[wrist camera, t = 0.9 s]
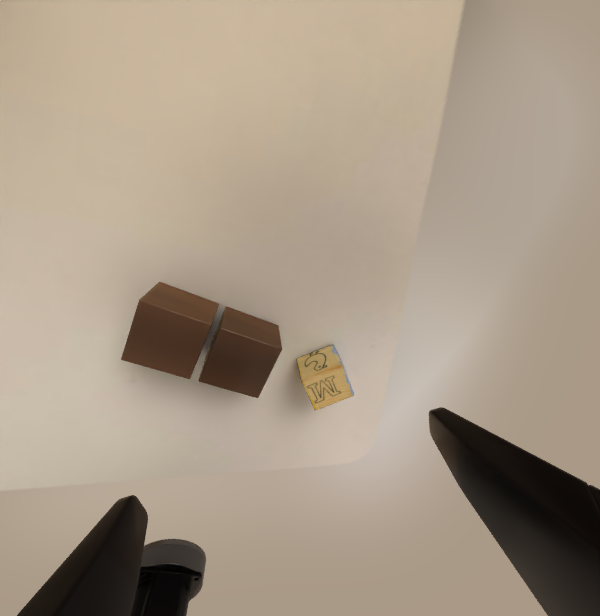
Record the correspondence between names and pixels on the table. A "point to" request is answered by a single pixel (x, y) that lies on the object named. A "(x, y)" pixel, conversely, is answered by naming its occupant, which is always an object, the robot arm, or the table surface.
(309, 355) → the alphabet block
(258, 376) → the brown double block
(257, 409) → the table surface
